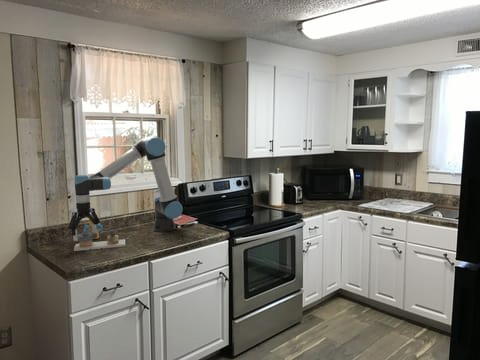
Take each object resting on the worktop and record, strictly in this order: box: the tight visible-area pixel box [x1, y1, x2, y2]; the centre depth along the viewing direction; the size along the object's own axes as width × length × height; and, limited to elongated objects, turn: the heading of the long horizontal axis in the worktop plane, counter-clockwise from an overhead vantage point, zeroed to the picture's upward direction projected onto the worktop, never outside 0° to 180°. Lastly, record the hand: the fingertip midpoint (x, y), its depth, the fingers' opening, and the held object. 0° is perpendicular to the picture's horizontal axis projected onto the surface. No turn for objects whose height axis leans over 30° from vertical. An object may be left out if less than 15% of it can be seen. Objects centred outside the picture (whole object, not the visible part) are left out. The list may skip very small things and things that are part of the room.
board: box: [73, 238, 126, 252], centre depth 224 cm, size 28×11×1 cm, turn 107°
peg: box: [78, 229, 93, 247], centre depth 221 cm, size 7×7×9 cm
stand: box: [106, 229, 120, 244], centre depth 226 cm, size 6×6×8 cm
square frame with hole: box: [77, 231, 97, 242], centre depth 221 cm, size 9×9×2 cm
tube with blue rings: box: [83, 216, 104, 240], centre depth 241 cm, size 12×10×15 cm
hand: (85, 237), depth 221 cm, fingers open, 13 cm apart
